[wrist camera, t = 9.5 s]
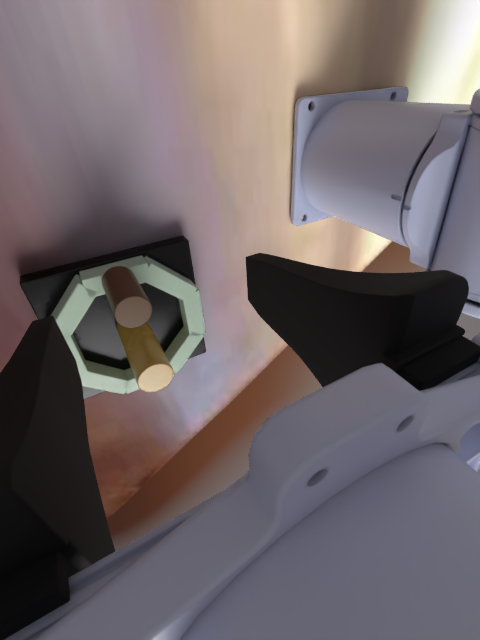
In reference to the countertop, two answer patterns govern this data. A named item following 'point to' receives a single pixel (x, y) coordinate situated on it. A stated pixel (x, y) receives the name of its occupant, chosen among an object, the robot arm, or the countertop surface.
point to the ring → (128, 314)
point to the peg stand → (101, 326)
